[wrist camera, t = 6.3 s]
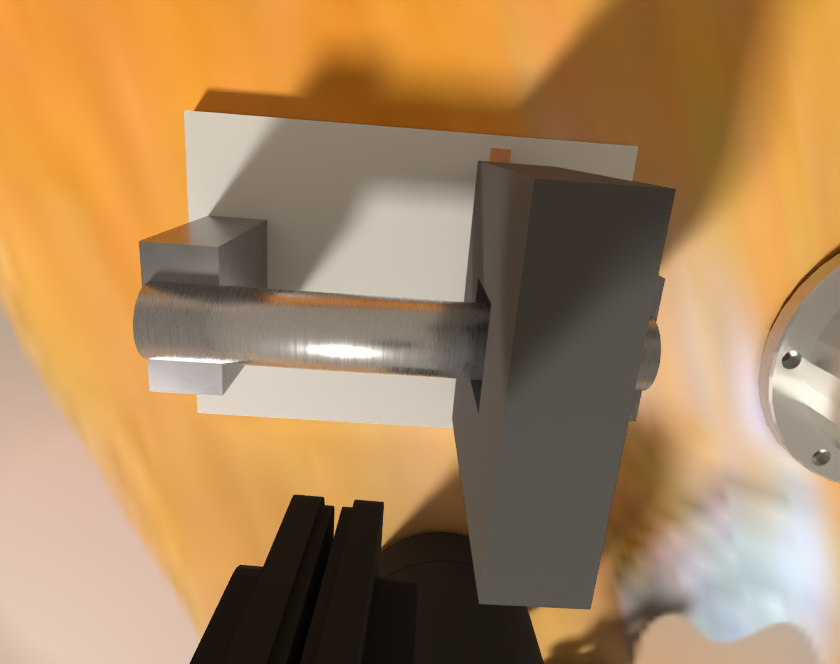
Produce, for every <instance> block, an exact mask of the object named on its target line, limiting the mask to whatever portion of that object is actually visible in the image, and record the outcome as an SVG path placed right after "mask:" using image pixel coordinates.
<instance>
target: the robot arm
mask: <svg viewBox="0 0 840 664" xmlns="http://www.w3.org/2000/svg"><path fill="white" fill-rule="evenodd" d="M758 383H759V394H760V404H761V408H762V411H763V414H764V417H765V420H766V423H767V425H768V427H769V429H770V430H771V432H772V433H773V435H774V437H775V438H776V440H777V442H778V443H779V444H780V445H781V446H782V447H783V448H784V449H785V450H786V451H787V452H788V453H789V454H790V455H791V456H792V457H793V458H794V459H796V460H797V461H798V462H799V463H801V464H802V465H803V466H804V467H806V468H807V469H808V470H810V471H811V472H813V473H815V474H817V475H819V476H822V477H824V478H826V479H828V480H830V481H832V482H836V483H840V253H839V254H838V255H836V256H835V257H833V258H832V259H830V260H829V261H828V262H826V263H825V264H823V265H822V266H820V267H819V268H818V269H817V270H816V271H815V272H814V273H813V274H812V275H811V276H810V277H809V278H808V279H807V280H806V281H805V282H804V283H803V284H802V285H801V286H800V287H799V288H798V289H797V290H796V292H795V293H794V294H793V296H792V297H791V298H790V300H789V301H788V302H787V303H786V305H785V306H784V307H783V309H782V310H781V312H780V314H779V316H778V318H777V320H776V322H775V323H774V325H773V327H772V329H771V331H770V333H769V336H768V339H767V342H766V345H765V348H764V351H763V354H762V357H761V365H760V373H759V381H758ZM383 510H384V502H377V501H365V500H355V501H354V504H353V508H352V507H342V510H341V513H340V517H339V521H338V524H337V528H336V532H335V535H334V506H328V505H325V502H324V497H317V496H305V495H293V497H292V499H291V502H290V504H289V506H288V509H287V511H286V514H285V516H284V518H283V521H282V523H281V526H280V528H279V530H278V533H277V535H276V537H275V540H274V542H273V545H272V547H271V549H270V552H269V554H268V557H267V559H266V561H265V564H264V566H263V567H259V566H247V565H239V566H238V567H237V568H236V569H235V571H234V573H233V575H232V577H231V579H230V581H229V583H228V585H227V587H226V589H225V591H224V593H223V595H222V597H221V599H220V602H219V604H218V606H217V608H216V610H215V612H214V614H213V616H212V618H211V620H210V622H209V624H208V626H207V629H206V631H205V633H204V635H203V637H202V639H201V641H200V643H199V645H198V647H197V649H196V651H195V653H194V655H193V658H192V660H191V662H190V664H414V651H415V631H416V612H417V593H418V580H412V579H400V578H388V577H379V572H380V557H381V541H382V526H383ZM333 538H334V539H333Z"/></svg>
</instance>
